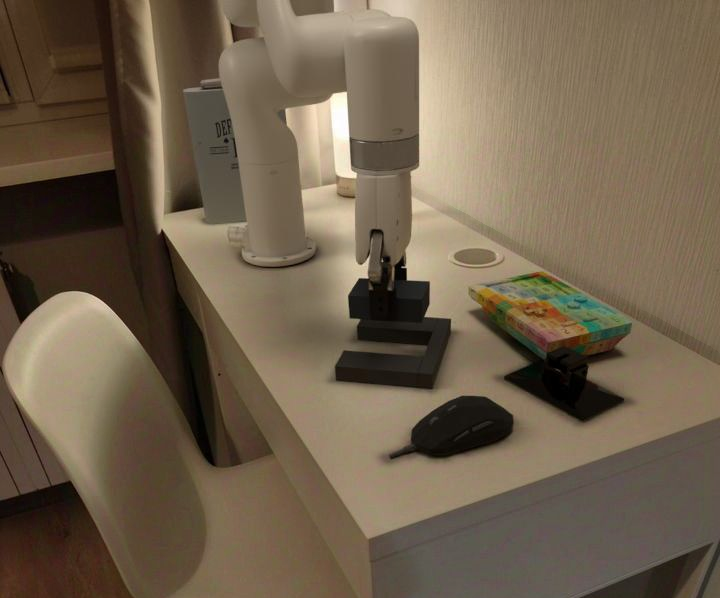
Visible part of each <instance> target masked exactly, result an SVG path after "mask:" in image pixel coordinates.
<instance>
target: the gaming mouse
mask: <svg viewBox="0 0 720 598" xmlns="http://www.w3.org/2000/svg"><path fill="white" fill-rule="evenodd" d="M514 423H515V420H514V414H512V413H511V412H509V411H508V410H507V409H506V408H505V407H503V406H502V405H500V404H498V403H497V402H495V401H493V400H492V399H490V398H488V397H487V396H483V395H482V396H481V395H459V396H457V397H455V398H452V399H450V400H448V401H446V402H444V403H443V404H441V405H440V406H438V407H436V408H434V409H433V410H431V411H430V412H429V413H427V414H426V415H425V416H423V417H422V418H421V419H420V420H419V421H418V422H417V423H416V424H415V425H414V427H413V428H412V429H411V433H410V434H411V435H410V442H411V443H410V444H407V445H406V446H403V448H401V449H399V450H397V451H394V452H392V453H390V454H388V457H389V458H390V459H392V458H394V457H397V456H399V455H402V454H403V453H404V454H407V453H409V452H411V451H414V450H415V449H417V450H418V451H420V452H423V453H426V454H429V455H431V456H448V455H451V454H454V453H459V452H462V451H465V450H468V449H471V448H474V447H477V446H482V445H486V444H488V443H492V442H495V441H497V440H500V439H501V438H503V437H504V436H505V435H507V434H509V433H510V432H511V431H512V429H513V427H514Z"/></svg>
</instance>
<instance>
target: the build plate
mask: <svg viewBox="0 0 720 598" xmlns="http://www.w3.org/2000/svg"><path fill="white" fill-rule="evenodd" d="M588 359H589V357H588V356H585V355H582V354H580V353H578V352H576V351H574V350H572V349H570V348H568V347H566V346H562V347H560V348H558V349H555V350H553V351H551V352H548V353H547V354H546V359H544V360H543V359H542V358H541V359H539V360H537V361H535V362H533V363H530V364H528V365H526V366H523V367H521V368H519V369H517V370H515V371H512V372H510V373H507V374H505V375H503V380H505V381H506V382H508V383H510V384H512V385H513V386H516V387H517V388H519V389H521V390H523V391H524V392H526V393H528V394H530V395H532V396H533V397H536V398H537V399H539V400H541V401H542V402H545V403H546V404H548V405H550V406H551V407H554V408H555V409H557V410H559V411H561V412H562V413H564V414H566V415H568V416H569V417H571V418H574V419H576V420H577V421H579V422H581V423H585V422H587V421H589V420H591V419H593V418H595V417H597V416H599V415H601V414H603V413H605V412H606V411H609V410H611V409H612V408H614V407H616V406H619V405H620V404H622V403H624V402H625V397H622V396H620V395H618V394H616V393H614V392H613V391H610V390H608V389H606V388H604V387H603V386H600V385H599V384H597V383H594V382H592V381H591V380H588V379H587V378H588V374H589V364H588Z"/></svg>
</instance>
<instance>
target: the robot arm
mask: <svg viewBox="0 0 720 598" xmlns="http://www.w3.org/2000/svg"><path fill="white" fill-rule="evenodd" d="M220 4H221V8H222V11H223V13H224V16H225V18H226V20H228V22H229V23H231V24H232V25H234V26H235V27H241V28H260V31H261V34H262V36H259V37H251V38H245V39H240V40H237V41H234V42H232V43H231V44H229V45H227V46H226V47H225V48H224V49H223V51H222V52H221V53H220V56H219V59H218V75H219V78H220V80H221V83H220V84H221V85H220V86H222V88H223V92H224V95H225V98H226V102H227V105H228V109H229V113H230V117H231V121H232V126H233V131H234V137H235V143H236V150H237V157H238V163H239V170H240V177H241V184H242V191H243V199H244V206H245V213H246V220H247V221H246V224H247V225H245V226H244V227H240V226H228V227H227V230H226V234H227V237H228V241H229V242H230V243H242V244H243V245H244V246H243V247H242V249H241V256H242V259H243V260H244V261H245V262H247V263H248V264H250V265H254V266H257V267H265V268H266V267H268V268H276V267H286V266H292V265H297V264H300V263H302V262H303V263H304V262H306V261H308V260H310V259H311V258H313V256H314V255H315V254H316V252H317V243H316V242H315V241H314V240H313V239H312V238H310V237H308V236H306V225H305V224H306V223H305V213H304V201H303V194H302V193H303V192H302V182H301V171H300V161H299V150H298V149H299V148H298V143H297V139H296V136H295V134H294V133H293V131H292V129H291V128H290V127H289V126H288V124H287V125H286V124H285V123H284V122H283V121H282V120H281V118H280V117H279V115H278V111H280V110H283V109H285V110H287V109H291V108H292V109H293V108H297V107H303V106H304V107H305V106H312V105H317V104H318V105H319V104H322V103H325V102H327V101H329V100H330V99H331V98H332V96H333V95H334V94H335V95H336V94H342V93H346V103H347V104H346V106H347V123H348V135H349V136H348V141H349V158H350V169H351V171H352V172H353V173H355V174H356V178H355V190H354V191H355V193H354V243H355V244H354V249H355V251H354V252H355V262H356V263H357V264H358V265H359V266H363V265H364V264H366V262H367V260H368V264H367V276H368V277H367V278H368V279H369V304H370V318H371V320H375V321H392V322H394V321H396V319H397V292H396V288H394V280H408V268H407V251H406V250H407V249H408V247H409V244H410V243H411V239H412V230H413V229H412V228H413V198H412V197H413V196H412V195H413V194H412V173H411V172H413V171H414V170H415V171H416V170H417V169H418V168H419V167H420V34H419V30H418V26H417V24H416V23H415V22H414V20H412V19H411V18H408V17H403V16H392V15H391V14H389V13H388V12H386V11H384V10H381V9H372V8H371V9H368V8H367V9H359V10H357V9H356V10H350V11H342V10H341V11H335V0H220Z"/></svg>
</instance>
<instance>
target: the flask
mask: <svg viewBox="0 0 720 598" xmlns="http://www.w3.org/2000/svg"><path fill="white" fill-rule="evenodd" d="M213 84H214V85H213ZM215 84H221V80H220V77H218V78H211V79H209V78H208V79H202V80H201V81H200V83H199V85H200V87H199V86H198V87H188V88H184V89H183V90H182V94H183V99H184V104H185V105H184V106H185V108H186V115H187V122H188V126H189V132H190V138H191V143H192V148H193V149H192V150H193V156H194V160H195V166H196V172H197V178H198V185H199V189H200V195H201V200H202V207H203V212H204V218H205V222H206V224H214V225H215V224H216V225H217V224H228V223H229V224H230V223H239V222H247V220H246V213H245V206H244V199H243V191H242V184H241V177H240V170H239V163H238V157H237V150H236V143H235V137H234V131H233V126H232V121H231V117H230V113H229V109H228V105H227V102H226V98H225V95H224V92H223V88H222V85H216V86H215ZM207 85H213V86H207ZM278 115H279V117H280V118H281V120H282V121H283V122H284V123H285V124H286V125H287V126H288V121H287V112H286V109H283V110H280V111H278Z"/></svg>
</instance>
